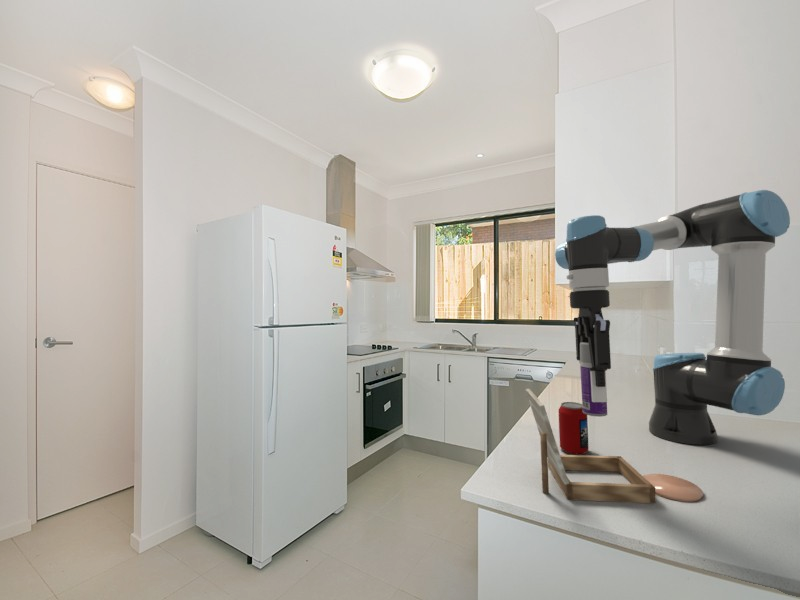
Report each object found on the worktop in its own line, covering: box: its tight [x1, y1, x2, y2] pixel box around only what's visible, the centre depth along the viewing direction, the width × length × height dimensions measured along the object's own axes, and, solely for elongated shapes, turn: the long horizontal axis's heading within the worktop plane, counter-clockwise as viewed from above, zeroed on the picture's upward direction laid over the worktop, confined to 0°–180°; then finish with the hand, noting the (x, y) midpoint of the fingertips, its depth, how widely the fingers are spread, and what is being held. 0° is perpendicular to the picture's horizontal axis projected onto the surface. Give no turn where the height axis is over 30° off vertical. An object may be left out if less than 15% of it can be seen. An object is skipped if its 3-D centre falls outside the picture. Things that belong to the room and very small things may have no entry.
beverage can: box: [558, 401, 589, 455], centre depth 93 cm, size 7×7×12 cm
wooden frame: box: [525, 388, 657, 504], centre depth 77 cm, size 20×14×19 cm
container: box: [579, 342, 608, 418], centre depth 77 cm, size 5×5×15 cm
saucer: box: [642, 473, 704, 503], centre depth 73 cm, size 10×10×1 cm
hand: (594, 397), depth 77 cm, fingers closed on container, 5 cm apart
